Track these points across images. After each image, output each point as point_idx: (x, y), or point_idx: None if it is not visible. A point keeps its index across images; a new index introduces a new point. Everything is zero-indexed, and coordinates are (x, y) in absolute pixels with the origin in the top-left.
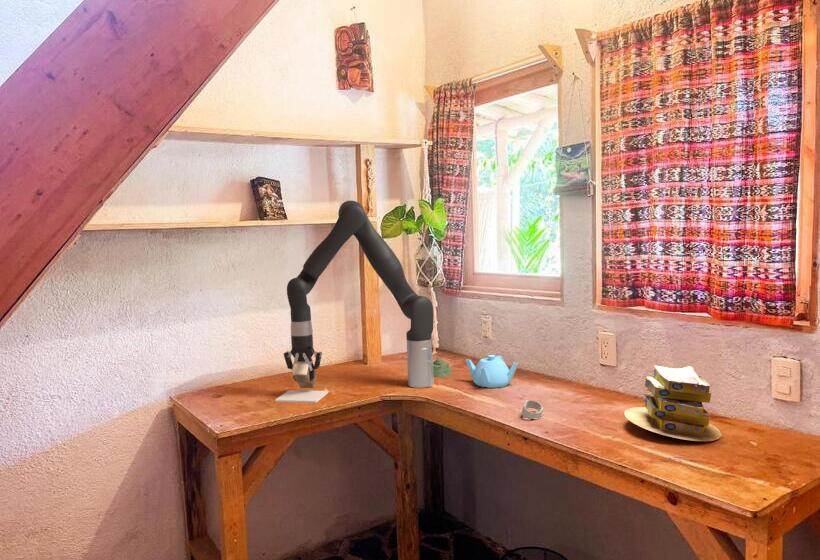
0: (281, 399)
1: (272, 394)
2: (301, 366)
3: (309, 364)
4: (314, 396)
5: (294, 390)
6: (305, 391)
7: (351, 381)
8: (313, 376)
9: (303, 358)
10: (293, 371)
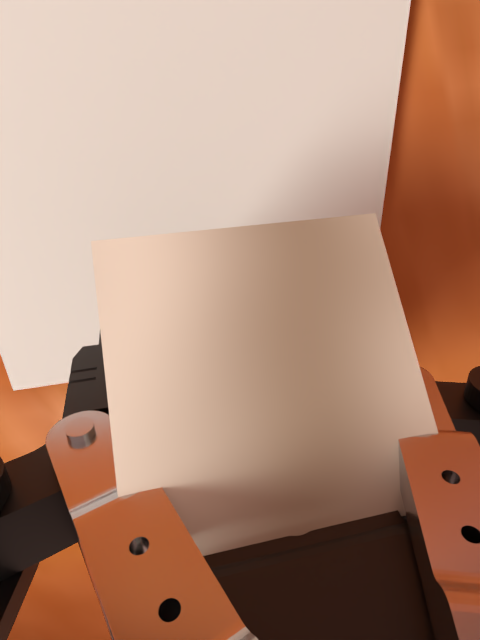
0: (346, 14)
1: (469, 238)
2: (256, 395)
3: (95, 502)
4: (30, 189)
5: None
6: None
7: (22, 618)
8: (72, 380)
9: (282, 622)
10: (370, 256)
